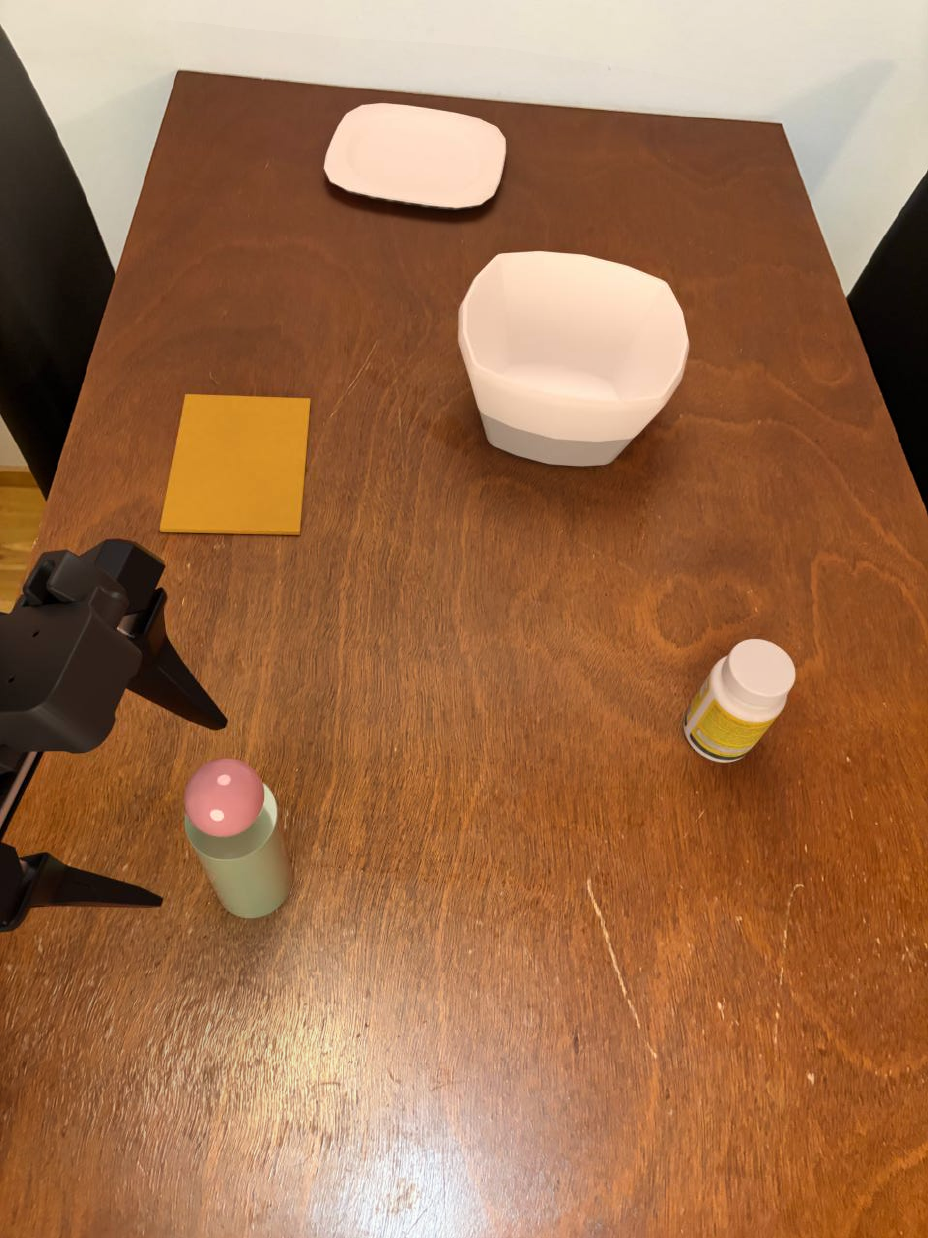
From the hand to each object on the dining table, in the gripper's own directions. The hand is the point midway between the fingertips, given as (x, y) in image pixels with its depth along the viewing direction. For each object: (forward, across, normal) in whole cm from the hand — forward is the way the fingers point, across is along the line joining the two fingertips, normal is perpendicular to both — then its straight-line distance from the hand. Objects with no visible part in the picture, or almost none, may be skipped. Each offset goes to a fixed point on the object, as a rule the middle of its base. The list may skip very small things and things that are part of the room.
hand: (192, 809), depth 43 cm
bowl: (+17, +42, -3) cm, 46 cm away
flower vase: (+8, 0, +6) cm, 10 cm away
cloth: (+1, +31, +13) cm, 34 cm away
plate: (+4, +76, +10) cm, 77 cm away
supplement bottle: (+27, +15, -13) cm, 34 cm away
